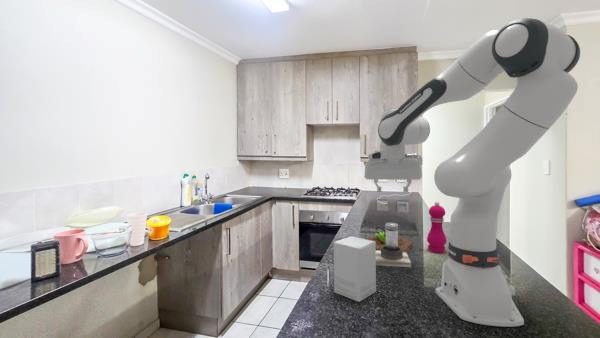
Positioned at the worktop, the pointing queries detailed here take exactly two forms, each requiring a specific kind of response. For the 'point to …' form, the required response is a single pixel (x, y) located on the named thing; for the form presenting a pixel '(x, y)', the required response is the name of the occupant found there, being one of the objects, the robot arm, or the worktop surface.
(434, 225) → the pepper mill
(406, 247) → the plant
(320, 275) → the worktop surface
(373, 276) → the supplement box
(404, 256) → the duct board
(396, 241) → the frosted cylinder in socket
